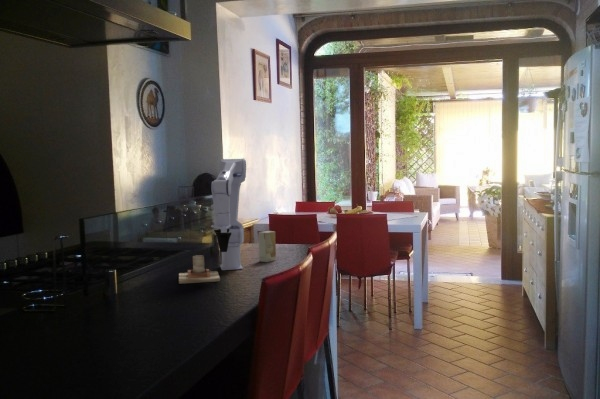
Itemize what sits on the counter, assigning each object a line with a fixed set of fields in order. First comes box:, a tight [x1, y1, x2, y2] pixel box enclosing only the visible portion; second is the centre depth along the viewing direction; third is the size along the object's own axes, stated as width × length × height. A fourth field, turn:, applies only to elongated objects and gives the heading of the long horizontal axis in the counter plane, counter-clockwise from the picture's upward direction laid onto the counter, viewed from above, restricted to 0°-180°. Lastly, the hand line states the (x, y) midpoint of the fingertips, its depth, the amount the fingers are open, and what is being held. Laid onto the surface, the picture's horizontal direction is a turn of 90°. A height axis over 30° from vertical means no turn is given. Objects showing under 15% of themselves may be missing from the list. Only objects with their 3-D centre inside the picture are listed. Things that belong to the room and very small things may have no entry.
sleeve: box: [192, 254, 205, 273], centre depth 208 cm, size 4×4×7 cm
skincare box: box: [258, 230, 277, 263], centre depth 241 cm, size 6×4×12 cm
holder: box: [178, 268, 221, 284], centre depth 208 cm, size 14×14×2 cm
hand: (223, 250), depth 212 cm, fingers open, 7 cm apart
